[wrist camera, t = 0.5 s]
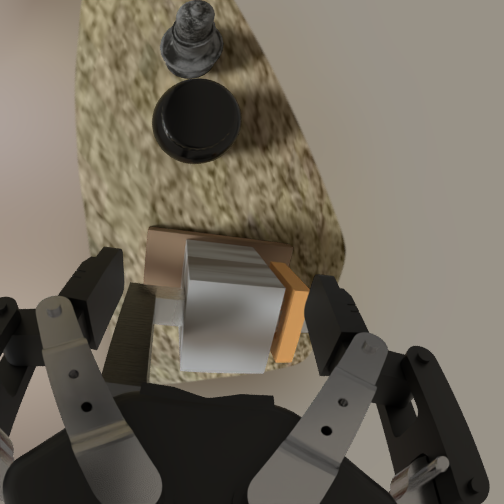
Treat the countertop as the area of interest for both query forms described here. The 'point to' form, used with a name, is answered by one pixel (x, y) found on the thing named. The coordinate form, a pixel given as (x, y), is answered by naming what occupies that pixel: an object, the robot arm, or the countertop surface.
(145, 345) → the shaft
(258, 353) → the stand
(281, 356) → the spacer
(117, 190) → the countertop surface
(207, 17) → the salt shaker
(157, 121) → the supplement bottle
